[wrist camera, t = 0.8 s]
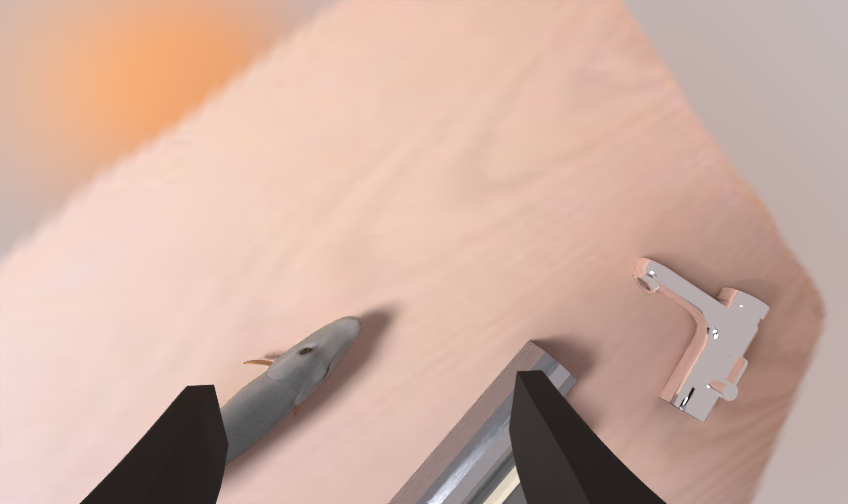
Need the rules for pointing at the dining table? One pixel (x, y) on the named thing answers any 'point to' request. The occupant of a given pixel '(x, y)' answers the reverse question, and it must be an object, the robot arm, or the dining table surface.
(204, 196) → the dining table surface
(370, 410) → the dining table surface
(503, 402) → the rail
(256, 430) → the fish
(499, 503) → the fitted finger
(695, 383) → the silver l-shaped piece
